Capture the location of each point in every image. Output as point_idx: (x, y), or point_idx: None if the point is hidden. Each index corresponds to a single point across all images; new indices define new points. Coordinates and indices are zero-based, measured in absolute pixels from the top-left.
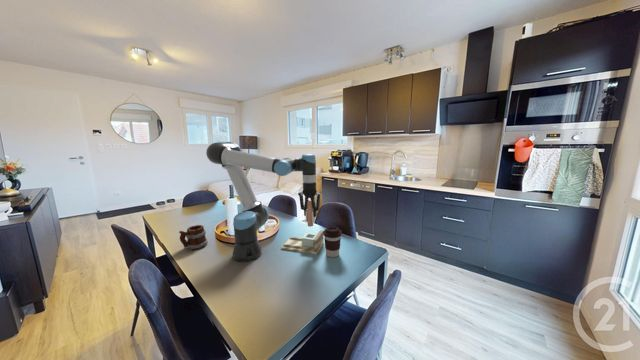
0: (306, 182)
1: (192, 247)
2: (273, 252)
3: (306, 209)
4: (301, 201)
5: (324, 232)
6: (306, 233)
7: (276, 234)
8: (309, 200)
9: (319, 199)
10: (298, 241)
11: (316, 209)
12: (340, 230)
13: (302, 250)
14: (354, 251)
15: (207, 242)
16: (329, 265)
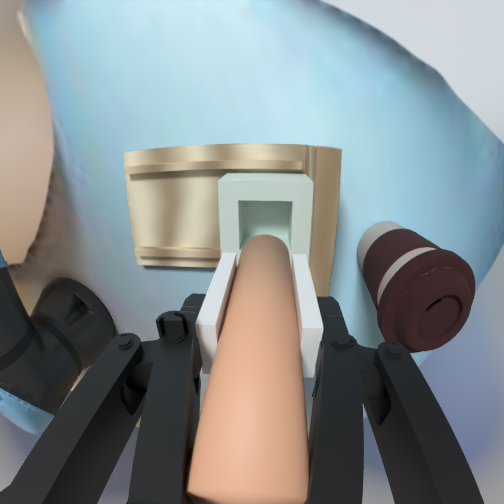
0: None
1: None
2: (133, 290)
3: (196, 356)
4: (104, 470)
5: (388, 334)
6: (224, 196)
7: (55, 139)
8: (231, 502)
9: (457, 498)
10: (184, 187)
11: (367, 399)
12: (473, 281)
13: None
14: (460, 204)
15: None
16: (374, 321)
